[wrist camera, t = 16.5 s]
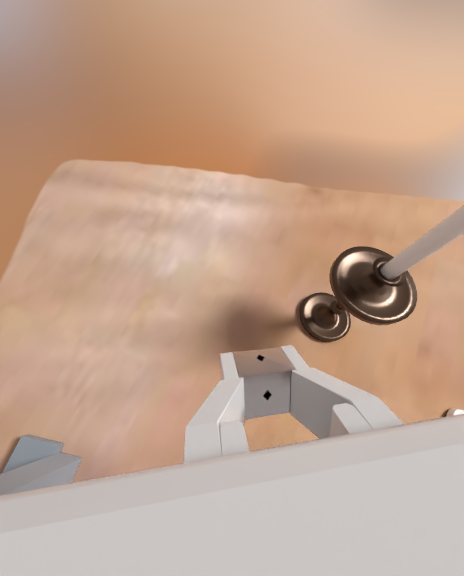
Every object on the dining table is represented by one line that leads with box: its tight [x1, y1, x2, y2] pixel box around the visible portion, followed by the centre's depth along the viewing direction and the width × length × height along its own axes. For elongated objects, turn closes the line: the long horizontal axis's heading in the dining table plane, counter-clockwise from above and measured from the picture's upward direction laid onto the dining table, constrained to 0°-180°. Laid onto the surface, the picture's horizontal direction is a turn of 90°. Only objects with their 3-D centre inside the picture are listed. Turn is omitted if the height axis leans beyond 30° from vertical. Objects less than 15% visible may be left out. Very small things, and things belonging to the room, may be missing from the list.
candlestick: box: [300, 205, 464, 342], centre depth 27 cm, size 11×11×35 cm
